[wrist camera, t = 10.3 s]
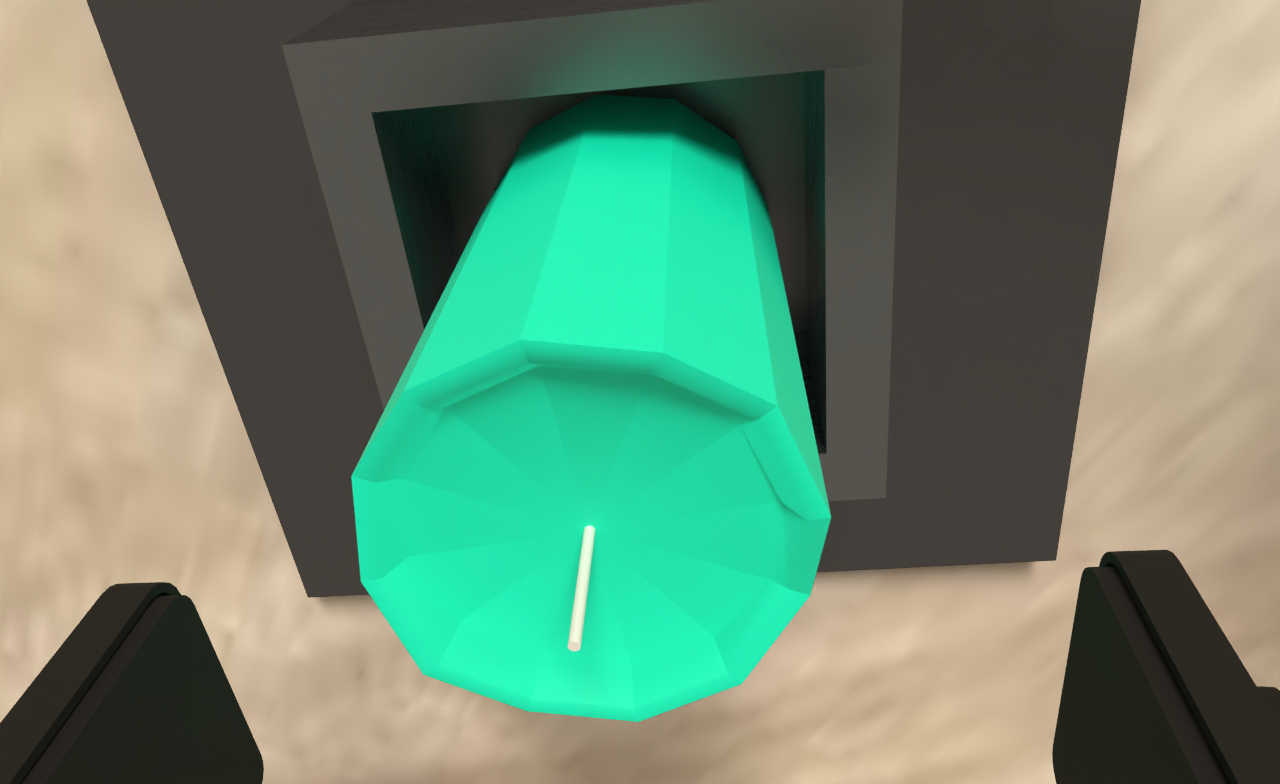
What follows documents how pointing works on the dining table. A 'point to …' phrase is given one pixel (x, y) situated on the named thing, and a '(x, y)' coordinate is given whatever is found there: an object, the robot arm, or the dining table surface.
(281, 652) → the dining table surface
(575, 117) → the candle
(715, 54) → the socket holder
